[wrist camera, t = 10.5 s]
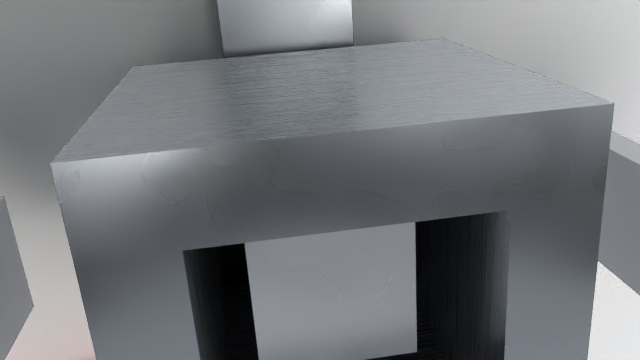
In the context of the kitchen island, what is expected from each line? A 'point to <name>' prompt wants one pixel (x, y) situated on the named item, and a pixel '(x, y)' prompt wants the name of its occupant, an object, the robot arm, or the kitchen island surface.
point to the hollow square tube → (339, 194)
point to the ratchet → (326, 248)
